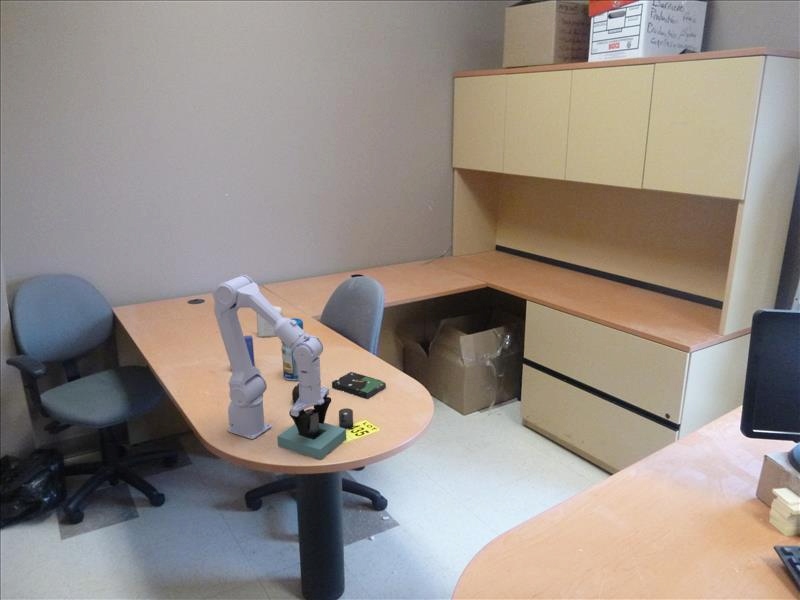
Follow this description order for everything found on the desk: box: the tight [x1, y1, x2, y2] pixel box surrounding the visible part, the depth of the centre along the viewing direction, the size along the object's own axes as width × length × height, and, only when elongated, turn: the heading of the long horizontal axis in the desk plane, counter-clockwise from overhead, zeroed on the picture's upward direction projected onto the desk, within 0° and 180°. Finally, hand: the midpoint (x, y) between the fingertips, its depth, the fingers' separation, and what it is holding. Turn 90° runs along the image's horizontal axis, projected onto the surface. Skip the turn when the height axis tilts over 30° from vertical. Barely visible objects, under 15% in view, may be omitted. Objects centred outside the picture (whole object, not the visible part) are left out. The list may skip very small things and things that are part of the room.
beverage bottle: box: [280, 317, 304, 382], centre depth 197 cm, size 8×8×20 cm
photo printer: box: [255, 305, 283, 338], centre depth 237 cm, size 10×4×12 cm, turn 102°
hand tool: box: [291, 382, 299, 407], centre depth 188 cm, size 19×4×5 cm, turn 172°
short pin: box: [338, 408, 354, 430], centre depth 167 cm, size 4×4×4 cm
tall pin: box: [304, 408, 319, 440], centre depth 158 cm, size 4×4×9 cm
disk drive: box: [331, 371, 387, 400], centre depth 192 cm, size 10×3×15 cm
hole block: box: [276, 422, 347, 461], centre depth 159 cm, size 14×12×3 cm
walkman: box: [231, 334, 256, 373], centre depth 204 cm, size 8×3×12 cm, turn 114°
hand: (311, 428), depth 158 cm, fingers open, 7 cm apart
